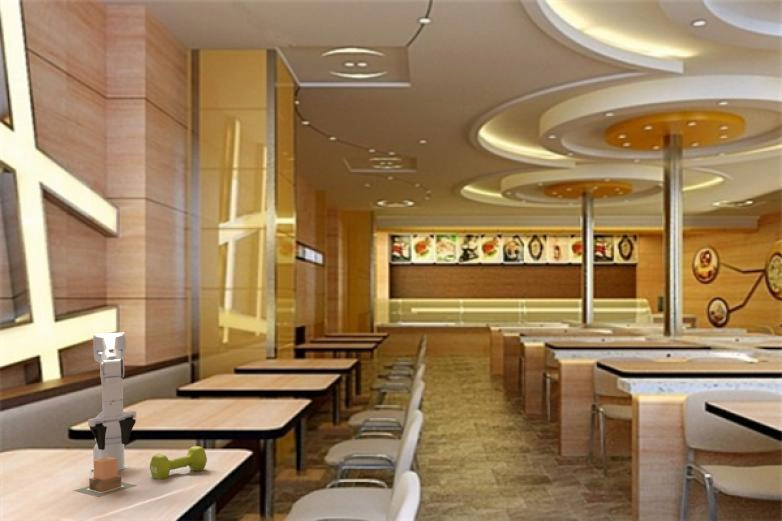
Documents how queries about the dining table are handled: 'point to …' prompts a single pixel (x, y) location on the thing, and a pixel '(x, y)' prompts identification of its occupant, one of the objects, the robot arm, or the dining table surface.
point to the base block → (104, 484)
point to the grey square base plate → (98, 494)
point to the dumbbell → (178, 462)
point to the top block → (105, 468)
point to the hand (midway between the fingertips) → (113, 446)
